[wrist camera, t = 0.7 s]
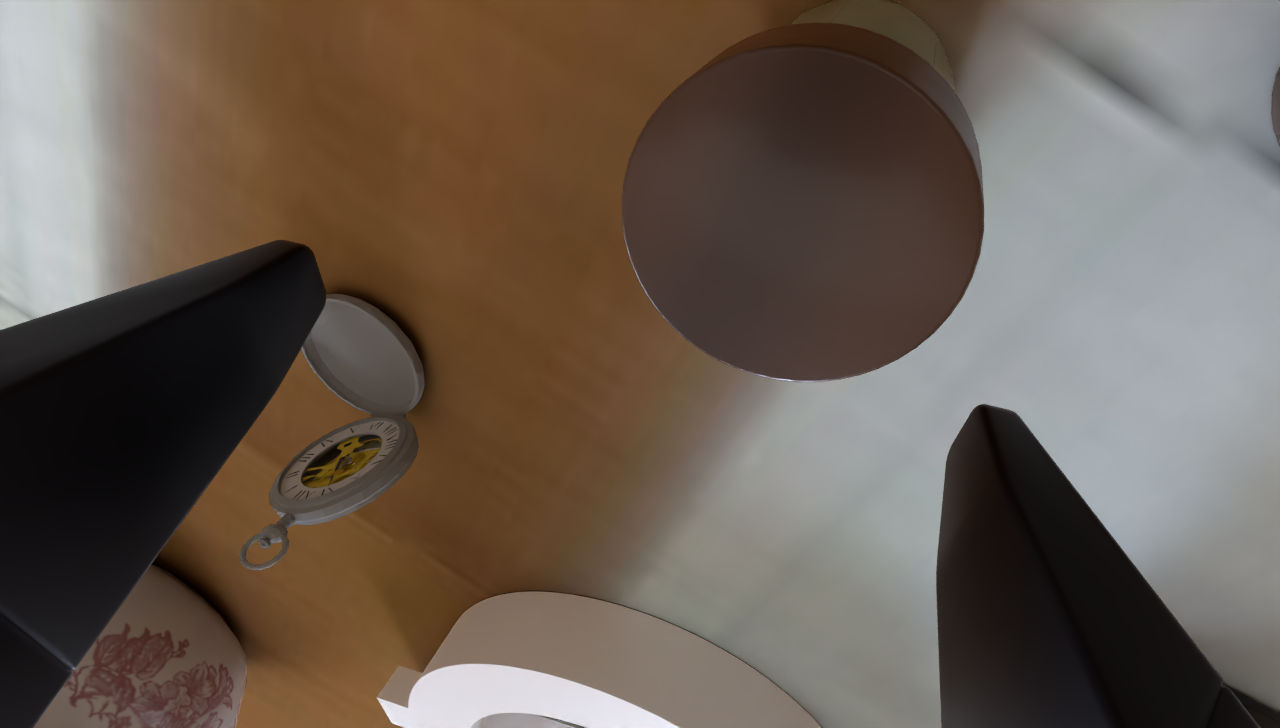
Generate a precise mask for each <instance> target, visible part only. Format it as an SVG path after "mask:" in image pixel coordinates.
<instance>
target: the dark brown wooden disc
mask: <svg viewBox="0 0 1280 728" xmlns="http://www.w3.org/2000/svg"><path fill="white" fill-rule="evenodd" d="M622 225H623V232H624V238H625V244H626V247H627V251H628V254H629V258H630V261H631V264H632V266H633V269H634V271H635V273H636V276H637V278H638V280H639V282H640V284H641V286H642V287H643V289H644V291H645V293H646V295H647V296H648V298H649V299H650V301H651V302H652V303H653V305H654V306H655V308H656V309H657V310H658V312H659V313H660V314H661V315H662V316H663V317H664V318H665V320H666V321H667V322H668V323H669V324H670V325H671V326H672V327H673V328H674V329H675V330H676V331H677V332H678V333H679V334H681V335H682V336H683V337H684V338H685V339H686V340H688V341H689V342H690V343H692V344H693V345H694V346H696V347H697V348H699V349H700V350H701V351H703V352H705V353H706V354H708V355H710V356H712V357H713V358H715V359H717V360H718V361H720V362H723V363H725V364H727V365H729V366H732V367H734V368H736V369H739V370H742V371H745V372H748V373H751V374H754V375H757V376H762V377H767V378H771V379H776V380H784V381H793V382H822V381H831V380H839V379H844V378H849V377H853V376H858V375H861V374H864V373H867V372H870V371H873V370H876V369H879V368H881V367H883V366H885V365H887V364H889V363H891V362H893V361H895V360H898V359H899V358H901V357H902V356H904V355H906V354H907V353H909V352H910V351H912V350H913V349H915V348H917V347H918V346H919V345H920V344H921V343H923V342H924V341H925V340H926V339H927V338H929V337H930V336H931V335H932V334H933V333H935V331H936V330H937V329H938V328H939V327H940V326H941V325H942V324H943V323H944V322H945V321H946V319H947V318H948V317H949V316H950V315H951V313H952V312H953V311H954V309H955V308H956V306H957V305H958V303H959V302H960V300H961V299H962V297H963V296H964V294H965V291H966V289H967V287H968V285H969V283H970V281H971V279H972V277H973V275H974V272H975V269H976V265H977V262H978V259H979V256H980V252H981V246H982V239H983V233H984V197H983V181H982V166H981V160H980V153H979V146H978V142H977V139H976V136H975V133H974V129H973V126H972V123H971V121H970V119H969V117H968V115H967V113H966V111H965V109H964V107H963V105H962V103H961V101H960V99H959V98H958V97H957V95H956V94H955V92H954V91H953V89H952V88H951V87H950V85H949V84H948V82H947V81H946V80H945V79H944V78H943V77H942V76H941V75H940V74H939V73H938V72H937V71H936V70H935V69H934V68H933V67H932V66H931V65H930V64H929V63H928V62H927V61H925V60H924V59H923V58H921V57H920V56H919V55H917V54H916V53H915V52H913V51H912V50H911V49H909V48H907V47H905V46H904V45H902V44H900V43H898V42H896V41H894V40H893V39H891V38H889V37H886V36H883V35H881V34H878V33H875V32H873V31H870V30H867V29H864V28H859V27H854V26H849V25H845V24H836V23H820V22H815V23H802V24H792V25H787V26H782V27H778V28H773V29H769V30H766V31H764V32H761V33H758V34H756V35H753V36H750V37H748V38H746V39H744V40H742V41H740V42H738V43H736V44H735V45H733V46H731V47H729V48H727V49H726V50H724V51H723V52H722V53H720V54H719V55H718V56H716V57H715V58H714V59H712V60H711V61H709V62H708V63H707V64H706V65H704V66H703V67H702V68H701V69H699V70H698V71H697V72H696V73H694V74H693V75H692V76H691V77H689V78H688V79H687V80H686V81H684V82H683V83H682V84H681V85H679V86H678V87H677V88H676V89H675V90H674V91H673V92H672V93H671V94H670V95H669V96H668V97H667V98H666V99H665V100H664V101H663V102H662V103H661V104H660V106H659V107H658V108H657V109H656V111H655V112H654V113H653V115H652V116H651V117H650V118H649V120H648V121H647V123H646V125H645V127H644V128H643V130H642V132H641V133H640V135H639V137H638V139H637V141H636V143H635V146H634V148H633V151H632V153H631V156H630V158H629V162H628V166H627V170H626V174H625V178H624V184H623V193H622Z"/></svg>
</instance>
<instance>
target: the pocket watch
mask: <svg viewBox="0 0 1280 728" xmlns="http://www.w3.org/2000/svg"><path fill="white" fill-rule="evenodd" d="M301 350H302V352H303V355H304V356H305V358H306V360H307V362H308V363H309V365H310V367H311V368H312V370H313V371H314V372H315V373H316V374H317V376H318V377H319V378H320V379H321V380H322V382H323V383H324V384H325V385H326V387H327V388H329V389H330V390H331V391H332V392H333V393H334V394H336V395H337V396H338V397H339V398H340V399H342V400H343V401H345V402H347V403H348V404H350V405H351V406H353V407H354V408H357V409H359V410H362V411H364V412H366V413H369V414H371V418H367V419H362V420H358V421H355V422H352V423H350V424H347V425H345V426H343V427H340V428H338V429H336V430H334V431H332V432H330V433H328V434H326V435H324V436H322V437H321V438H319V439H318V440H316V441H315V442H313V443H312V444H310V445H309V446H307V447H306V448H305V449H304V450H302V451H301V452H300V453H299V454H297V455H296V456H295V457H294V458H293V459H292V460H291V461H290V462H289V463H288V465H287V466H286V467H285V468H284V469H283V470H282V471H281V473H280V474H279V475H278V477H277V478H276V480H275V482H274V484H273V486H272V488H271V490H270V493H269V499H270V505H271V506H272V507H273V509H274V510H275V511H276V513H277V514H278V515H279V516H280V517H282V518H281V519H280V520H279V521H278V522H277V524H270V525H268V526H266V527H265V528H263V530H262V532H261V533H259V534H256V535H255V536H253V537H252V538H250V539H249V540H248V541H247V542H246V543H245V544H244V545H243V547H242V549H241V552H240V556H239V559H240V562H241V564H242V565H243V566H245V567H246V568H248V569H252V570H262V569H266V568H268V567H271V566H272V565H274V564H276V563H277V562H279V561H280V560H281V559H282V558H283V556H284V555H285V554H286V552H287V550H288V547H289V540H288V538H287V533H288V531H287V529H288V528H289V527H290V526H292V525H293V524H298V525H314V524H319V523H324V522H328V521H331V520H334V519H337V518H340V517H343V516H345V515H347V514H349V513H351V512H354V511H356V510H358V509H360V508H362V507H363V506H365V505H367V504H368V503H370V502H372V501H373V500H375V499H376V498H378V497H379V496H380V495H382V494H383V493H384V492H386V491H387V490H388V489H390V488H391V487H392V486H393V485H394V484H395V483H396V482H397V481H398V480H399V479H401V478H402V476H403V475H404V474H405V473H406V472H407V470H408V469H409V468H410V467H411V465H412V463H413V462H414V460H415V458H416V456H417V452H418V448H419V445H418V438H417V434H416V431H415V429H414V427H413V425H412V424H411V423H410V422H409V421H408V420H407V419H406V415H403V414H406V413H407V412H409V411H410V410H411V409H412V408H414V406H415V405H416V404H417V403H418V401H419V400H420V398H421V397H422V393H423V390H424V386H425V383H424V372H423V365H422V363H421V361H420V359H419V357H418V355H417V352H416V350H415V348H414V346H413V344H412V342H411V341H410V340H409V338H408V337H407V336H406V335H405V334H404V332H403V331H402V330H401V329H400V328H399V326H398V325H397V324H396V323H395V322H394V321H393V320H392V319H390V318H389V317H388V316H387V315H385V314H384V313H383V312H382V311H380V310H379V309H378V308H376V307H374V306H372V305H370V304H368V303H367V302H365V301H363V300H361V299H358V298H355V297H352V296H348V295H342V294H326V303H325V306H324V309H323V311H322V313H321V314H320V316H319V318H318V320H317V321H316V323H315V325H314V327H313V328H312V330H311V332H310V334H309V335H308V337H307V339H306V341H305V342H304V344H303V346H302V348H301ZM374 449H375V450H374ZM368 450H370V451H368ZM364 451H365V452H364ZM375 452H377V453H375ZM372 454H375V455H374V456H372V457H371V458H370V459H368V458H369V457H370V456H371V455H372ZM356 455H359V456H360V457H359V456H356ZM350 457H353V458H350ZM355 457H357V458H358V459H357V458H356V459H354V458H355ZM367 459H368V460H367ZM350 461H351V462H352V463H353V462H356V463H355V464H354V465H352V463H351V464H348V463H350ZM357 462H358V463H357ZM366 462H369V463H366ZM325 474H326V475H325ZM323 477H324V478H323ZM321 478H323V479H321ZM320 479H321V480H320ZM262 537H263V538H262ZM257 540H259V543H260V544H259V545H260V547H262V548H270V547H271V543H277V542H281V541H282V550H281V551H280V552H279V553H278V555H277V556H275V557H274V558H273V559H272V560H270V561H268V562H266V563H264V564H259V565H253V564H251V563H249V562H248V561H247V559H246V552H247V550H248V548H249V547H250V546H251V545H252V544H253V543H254V542H256V541H257Z"/></svg>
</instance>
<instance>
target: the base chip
mask: <svg viewBox="0 0 1280 728" xmlns="http://www.w3.org/2000/svg"><path fill="white" fill-rule="evenodd" d="M1271 113H1272V120H1273V127H1274V132H1275V135H1276V137H1277V140H1278V143H1279V146H1280V67H1279V69H1278V72H1277V75H1276V79H1275V84H1274V89H1273V93H1272V112H1271Z"/></svg>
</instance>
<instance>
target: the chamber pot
mask: <svg viewBox="0 0 1280 728" xmlns="http://www.w3.org/2000/svg"><path fill="white" fill-rule="evenodd" d="M72 671H73V674H72V675H71V677H70V678H69V679H68V681H67V682H66V683H65V685H64V686H63V688H62V689H61V690H60V692H59V693H58V694H57V696H56V697H55V699H54V700H53V701H52V703H51V704H50V706H49V707H48V708H47V710H46V711H45V712H44V714H43V715H42V717H41V718H40V719H39V721H38V722H37V723H36V725H35V726H34V728H236V725H237V721H238V716H239V712H240V708H241V704H242V699H243V695H244V691H245V687H246V683H247V657H246V655H245V653H244V651H243V649H242V647H241V645H240V644H239V642H238V640H237V638H236V636H235V634H234V633H233V631H232V629H231V627H230V625H229V624H228V623H227V622H226V620H225V619H224V618H223V617H222V616H221V614H220V613H219V612H218V611H217V610H216V609H215V608H214V607H213V606H212V605H211V604H210V603H209V602H208V601H207V600H206V599H205V598H204V597H203V596H202V595H200V594H199V593H198V592H196V591H195V590H194V589H193V588H191V587H190V586H189V585H187V584H186V583H185V582H184V581H182V580H180V579H179V578H177V577H176V576H174V575H172V574H171V573H169V572H168V571H166V570H164V569H162V568H160V567H158V566H156V565H154V564H151V565H150V567H149V568H148V570H147V571H146V572H145V574H144V575H143V576H142V578H141V579H140V581H139V582H138V583H137V585H136V586H135V588H134V589H133V590H132V592H131V593H130V594H129V596H128V597H127V599H126V600H125V601H124V603H123V604H122V605H121V607H120V608H119V610H118V611H117V612H116V614H115V615H114V616H113V618H112V619H111V621H110V622H109V623H108V625H107V626H106V628H105V629H104V630H103V632H102V633H101V634H100V636H99V637H98V639H97V640H96V641H95V643H94V644H93V645H92V647H91V648H90V650H89V651H88V652H87V654H86V655H85V656H84V658H83V659H82V661H81V662H80V663H79V665H78V666H77V668H75V669H74V670H72Z"/></svg>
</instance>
